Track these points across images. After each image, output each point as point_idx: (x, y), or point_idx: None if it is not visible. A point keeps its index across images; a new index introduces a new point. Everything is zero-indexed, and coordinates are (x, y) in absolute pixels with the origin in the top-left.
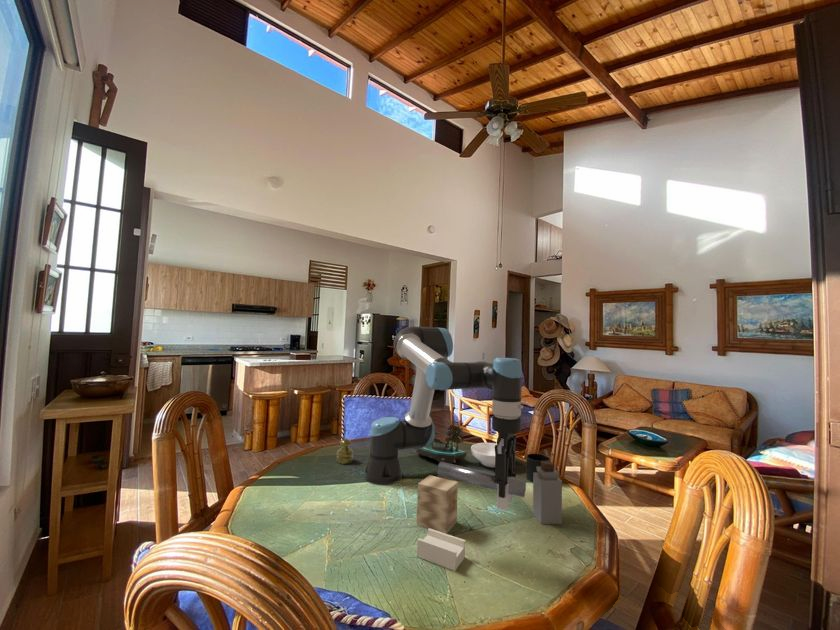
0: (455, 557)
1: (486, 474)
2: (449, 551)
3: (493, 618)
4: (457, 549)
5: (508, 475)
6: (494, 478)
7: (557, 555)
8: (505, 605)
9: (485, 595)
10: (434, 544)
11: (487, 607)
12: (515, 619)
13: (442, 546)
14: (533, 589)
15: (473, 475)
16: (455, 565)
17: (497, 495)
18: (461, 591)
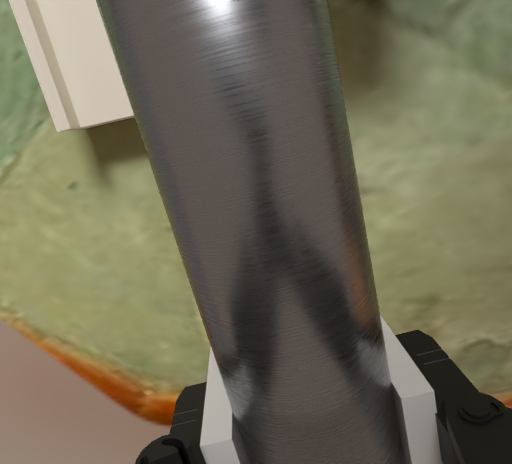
0: (68, 130)
1: (241, 303)
2: (47, 102)
3: (26, 323)
4: (126, 96)
5: (446, 458)
6: (245, 400)
7: (418, 327)
8: (91, 322)
9: (77, 265)
10: (22, 13)
11: (44, 293)
12: (71, 360)
13: (43, 55)
14: (209, 343)
15: (143, 126)
16: (82, 128)
17: (210, 360)
18: (28, 205)
